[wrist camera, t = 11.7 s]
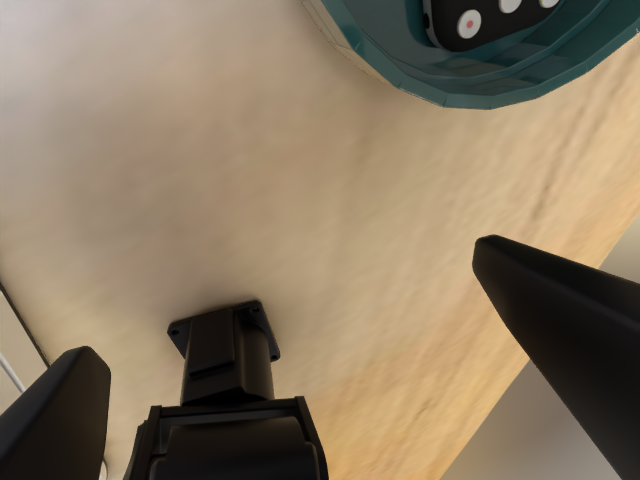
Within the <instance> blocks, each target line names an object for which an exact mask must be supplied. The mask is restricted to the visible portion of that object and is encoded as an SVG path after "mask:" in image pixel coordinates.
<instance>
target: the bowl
mask: <svg viewBox="0 0 640 480" xmlns="http://www.w3.org/2000/svg"><path fill="white" fill-rule="evenodd" d="M300 1H301V3H302V4H303V6H304V7H305V9H306V10H307V12H308V13H309V15H310V16H311V18H312V19H313V20H314V22H315V23H316V25H317V26H318V28H319V29H320V31H321V32H322V34H323V35H324V37H325V38H326V40H327V41H328V42H329V43H330V44H331V45H333V46H334V47H335V48H336V49H337V50H338V51H340V52H341V53H342V54H343V55H344V56H345V57H347V58H348V59H349V60H350V61H351V62H353V63H354V64H355V65H356V66H357V67H358V68H360V69H361V70H362V71H363V72H365V73H366V74H368V75H370V76H372V77H374V78H376V79H378V80H381V81H382V82H385V83H387V84H389V85H391V86H393V87H395V88H397V89H399V90H401V91H404V92H406V93H409V94H411V95H413V96H416V97H418V98H421V99H423V100H425V101H428V102H430V103H433V104H435V105H437V106H440V107H446V108H463V109H479V110H491V109H495V108H499V107H504V106H508V105H512V104H516V103H520V102H525V101H529V100H533V99H536V98H539V97H541V96H543V95H545V94H547V93H549V92H551V91H553V90H555V89H557V88H559V87H561V86H563V85H565V84H567V83H569V82H570V81H572V80H574V79H576V78H578V77H580V76H582V75H584V74H586V73H587V72H589V71H590V70H591V69H593V68H594V67H595V66H597V65H598V64H599V63H600V62H602V61H603V60H604V59H606V58H607V57H608V56H610V55H611V54H612V53H613V52H615V51H616V50H617V49H619V48H620V47H621V46H622V45H624V44H625V43H626V42H628V41H629V40H630V39H631V38H633V37H634V36H635V35H636V34H637V33H639V32H640V0H561V2H560V3H559V5H558V6H557V7H556V8H555V10H554V11H553V12H552V13H551V14H550V15H549V16H548V17H547V18H546V19H544V20H543V21H541V22H540V23H538V24H536V25H534V26H532V27H529V28H527V29H524V30H521V31H519V32H516V33H514V34H511V35H508V36H506V37H503V38H500V39H498V40H495V41H493V42H490V43H487V44H485V45H482V46H479V47H477V48H474V49H472V50H469V51H464V52H450V51H445V50H443V49H441V48H439V47H437V46H435V45H434V44H433V42H432V41H431V40H430V38H429V36H428V34H427V32H426V28H425V26H424V23H423V16H424V11H423V0H300Z"/></svg>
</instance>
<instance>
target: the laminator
mask: <svg viewBox="0 0 640 480" xmlns="http://www.w3.org/2000/svg"><path fill="white" fill-rule="evenodd" d="M48 368H49V365H48V363H47V362H46V360H45V358H44V356H43V355H42V353H41V351H40V350H39V348H38V346H37V345H36V343H35V341H34V340H33V338H32V336H31V334H30V333H29V331H28V329H27V328H26V326H25V324H24V323H23V321H22V319H21V317H20V316H19V314H18V312H17V311H16V309H15V307H14V306H13V304H12V302H11V301H10V299H9V297H8V295H7V294H6V292H5V290H4V289H3V287H2V285H1V284H0V415H1V414H2V413H3V412H4V411H5V410H6V409H7V408H8V407H9V406H10V405H11V404H12V403H13V402H14V401H16V400H17V399H18V398H19V397H20V396H21V395H22V394H23V393H24V392H25V391H26V390H27V389H28V388H29V387H30V386H31V385H32V384H33V383H34V382H35V381H36V380H37V379H38V378H39V377H40V376H41V375H42V374H43V373H44V372H45V371H46V370H47V369H48ZM99 480H107V465H106V462H105V460H104V458H103V461H102V466H101V472H100V477H99Z"/></svg>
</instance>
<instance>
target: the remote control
mask: <svg viewBox="0 0 640 480" xmlns="http://www.w3.org/2000/svg"><path fill="white" fill-rule="evenodd" d="M560 2H561V0H423V11H424V16H423V23H424V26H425V28H426V32H427V34H428V36H429V38H430V40H431V41H432V42H433V44H434V45H435V46H437V47H439V48H441V49H443V50H445V51H450V52H464V51H469V50H472V49H474V48H477V47H479V46H482V45H485V44H487V43H490V42H493V41H495V40H498V39H500V38H503V37H506V36H508V35H511V34H514V33H516V32H519V31H521V30H524V29H527V28H529V27H532V26H534V25H536V24H538V23H540V22H541V21H543V20H544V19H546V18H547V17H548V16H549V15H550V14H551V13H552V12H553V11H554V10H555V8H556V7H557V6H558V5H559V3H560Z"/></svg>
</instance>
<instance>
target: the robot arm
mask: <svg viewBox="0 0 640 480" xmlns="http://www.w3.org/2000/svg"><path fill="white" fill-rule="evenodd" d="M472 268H473V271H474V274H475V276H476V277H477V279H478V281H479V282H480V284H481V286H482V287H483V289H484V291H485V292H486V294H487V296H488V297H489V299H490V301H491V302H492V304H493V306H494V307H495V309H496V311H497V312H498V314H499V316H500V317H501V319H502V320H503V322H504V323H505V325H506V327H507V328H508V329H509V331H510V332H511V334H512V335H513V336H514V338H515V339H516V340H517V342H518V343H519V344H520V346H521V347H522V348H523V349H524V351H525V352H526V353H527V355H528V356H529V357H530V359H531V360H532V361H533V363H534V364H535V365H536V367H537V368H538V369H539V371H540V372H541V373H542V375H543V376H544V377H545V379H546V380H547V381H548V382H549V384H550V385H551V387H552V388H553V389H554V391H555V392H556V393H557V395H558V396H559V397H560V398H561V400H562V401H563V402H564V404H565V405H566V406H567V408H568V409H569V410H570V412H571V413H572V414H573V416H574V417H575V418H576V420H577V421H578V422H579V424H580V425H581V426H582V428H583V429H584V430H585V432H586V433H587V434H588V435H589V437H590V438H591V440H592V441H593V442H594V443H595V445H596V446H597V447H598V449H599V450H600V452H601V453H602V454H603V455H604V457H605V458H606V459H607V461H608V462H609V463H610V465H611V466H612V467H613V469H614V470H615V471H616V473H617V474H618V475H619V477H620V478H621V479H622V480H640V284H639V283H636V282H633V281H630V280H627V279H624V278H621V277H618V276H615V275H612V274H609V273H606V272H604V271H600V270H598V269H595V268H592V267H589V266H586V265H583V264H580V263H577V262H574V261H571V260H569V259H566V258H563V257H560V256H557V255H554V254H551V253H548V252H545V251H542V250H539V249H536V248H534V247H531V246H528V245H525V244H522V243H519V242H516V241H513V240H510V239H507V238H504V237H502V236H499V235H494V234H493V235H488V236H485V237H481V238H479V239H477V241H476V242H475V248H474V255H473V261H472ZM253 308H256V309H253ZM167 333H168V335H169V337H170V338H171V340H172V341H173V343H174V344H175V346H176V347H177V349H178V350H179V352H180V353H181V355H182V356H183V358H184V359H185V365H184V373H183V382H182V390H181V398H180V406H170V407H162V405H159V406H151V409H150V413H149V417H148V420H144V423H143V424H141V425H140V426H138V429H137V434H136V438H135V443H134V447H133V452H132V456H131V459H130V462H129V465H128V468H127V470H126V473H125V475H124V478H123V480H329V476H328V469H327V463H326V458H325V454H324V451H323V448H322V445H321V442H320V439H319V437H318V434H317V431H316V428H315V426H314V423H313V420H312V417H311V415H310V412H309V409H308V407H307V404H306V401H305V398H304V396H295V397H294V398H288V399H275V397H274V389H273V380H272V372H271V363H270V362H273V361H276V360H278V359H279V358H280V351H279V348H278V346H277V343H276V340H275V338H274V335H273V332H272V330H271V327H270V324H269V322H268V319H267V316H266V314H265V311H264V308H263V306H262V304H261V302H259V301H252V302H248V303H245V304H241V305H237V306H234V307H230V308H226V309H223V310H219V311H215V312H212V313H208V314H204V315H201V316H197V317H193V318H190V319H186V320H183V321H179V322H175V323H172V324H170V325H169V327H168V331H167ZM110 384H111V372H110V369H109V367H108V365H107V364H106V363H105V362H104V361H103V360H102V359H101V358H100V357H99V355H98V354H97V353H96V352H95V351H94V350H93V349H92V348H91V347H88V346H82V347H78V348H75V349H71V350H68V351H66V352H64V353H63V354H62V355H61V356H60V357H59V358H58V359H57V360H56V361H55V362H54V363H53V364H52V365H51V366H50V367H49V368H48V369H47V370H46V371H45V372H44V373H43V374H42V375H41V376H40V377H39V378H38V379H37V380H36V381H35V382H34V383H33V384H32V385H31V386H30V387H29V388H28V389H27V390H26V391H25V392H24V393H23V394H22V395H21V396H20V397H19V398H18V399H17V400H16V401H14V402H13V403H12V404H11V405H10V406H9V407H8V408H7V409H6V410H5V411H4V412H3V413H2V414H1V415H0V480H99V477H100V472H101V466H102V461H103V455H104V449H105V442H106V433H107V421H108V409H109V396H110Z"/></svg>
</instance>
